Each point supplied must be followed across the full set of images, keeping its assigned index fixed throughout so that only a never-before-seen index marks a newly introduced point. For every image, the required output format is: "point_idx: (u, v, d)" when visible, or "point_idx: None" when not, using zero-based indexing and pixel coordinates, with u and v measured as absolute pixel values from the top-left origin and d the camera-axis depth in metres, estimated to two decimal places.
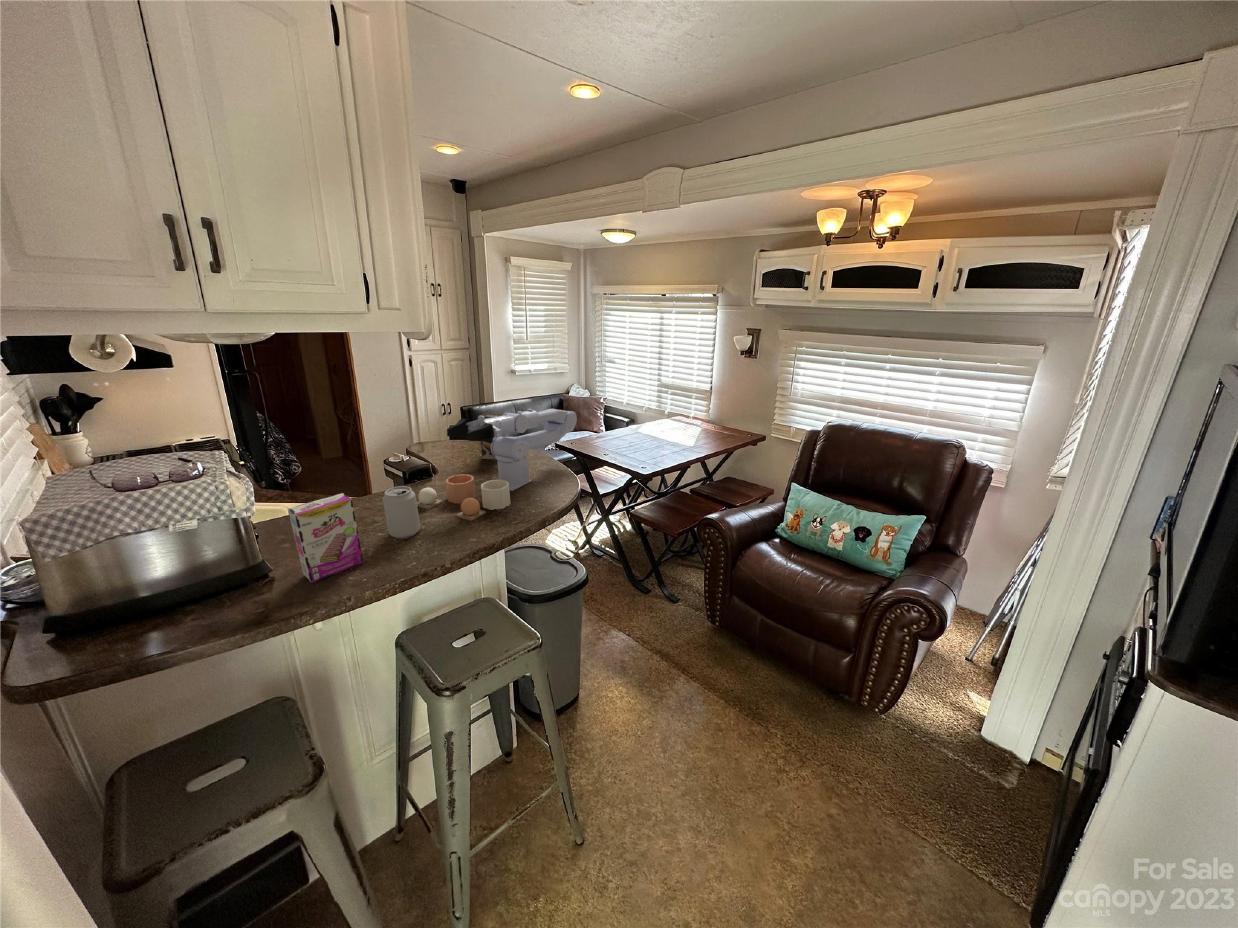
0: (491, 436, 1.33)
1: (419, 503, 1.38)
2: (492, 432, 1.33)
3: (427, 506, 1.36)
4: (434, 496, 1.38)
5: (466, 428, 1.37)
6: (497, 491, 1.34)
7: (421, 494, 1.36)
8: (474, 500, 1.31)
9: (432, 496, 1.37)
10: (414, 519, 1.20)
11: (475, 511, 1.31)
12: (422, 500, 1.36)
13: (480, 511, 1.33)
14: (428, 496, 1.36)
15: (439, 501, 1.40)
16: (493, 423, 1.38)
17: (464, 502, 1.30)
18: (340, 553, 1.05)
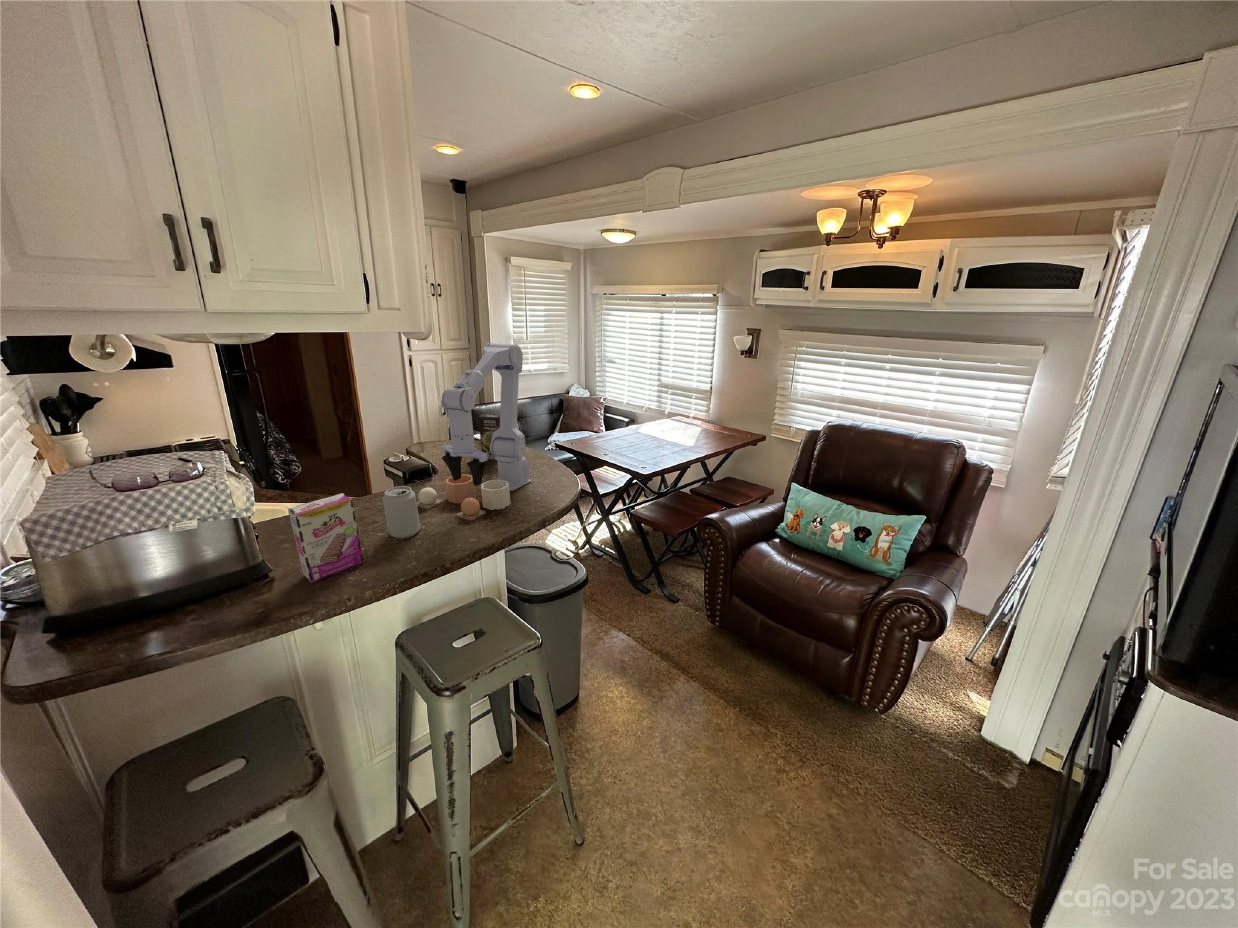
0: (483, 462, 1.25)
1: (419, 503, 1.38)
2: (480, 462, 1.24)
3: (427, 506, 1.36)
4: (434, 496, 1.38)
5: (454, 456, 1.29)
6: (497, 491, 1.34)
7: (421, 494, 1.36)
8: (474, 500, 1.31)
9: (432, 496, 1.37)
10: (414, 519, 1.20)
11: (475, 511, 1.31)
12: (422, 500, 1.36)
13: (480, 511, 1.33)
14: (428, 496, 1.36)
15: (439, 501, 1.40)
16: (464, 445, 1.23)
17: (464, 502, 1.30)
18: (340, 553, 1.05)
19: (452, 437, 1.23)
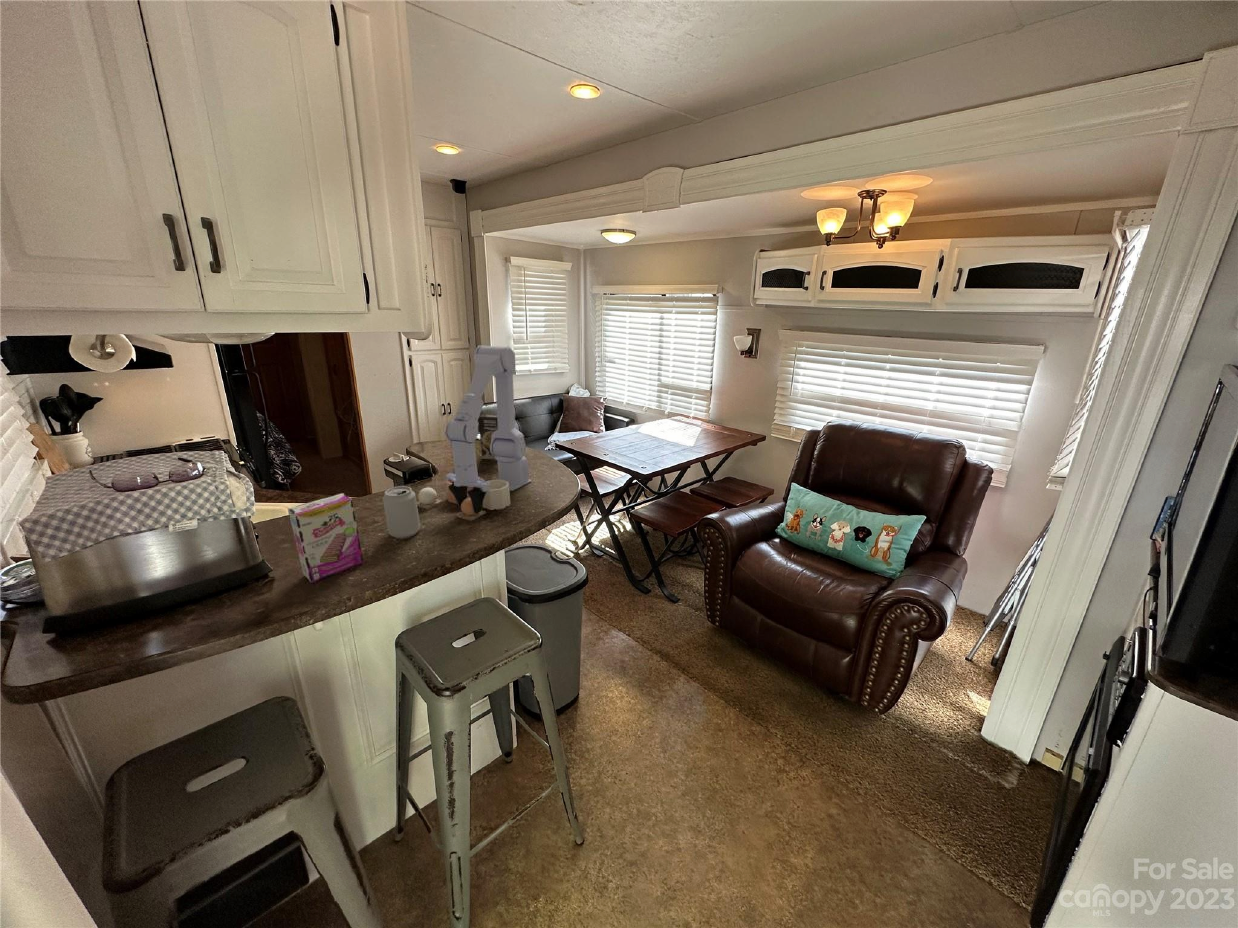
0: (483, 490, 1.28)
1: (419, 503, 1.38)
2: (480, 491, 1.27)
3: (427, 506, 1.36)
4: (434, 496, 1.38)
5: (460, 486, 1.31)
6: (497, 491, 1.34)
7: (421, 494, 1.36)
8: None
9: (432, 496, 1.37)
10: (414, 519, 1.20)
11: None
12: (422, 500, 1.36)
13: (480, 511, 1.33)
14: (428, 496, 1.36)
15: (439, 501, 1.40)
16: (467, 475, 1.26)
17: (464, 502, 1.30)
18: (340, 553, 1.05)
19: (456, 467, 1.26)
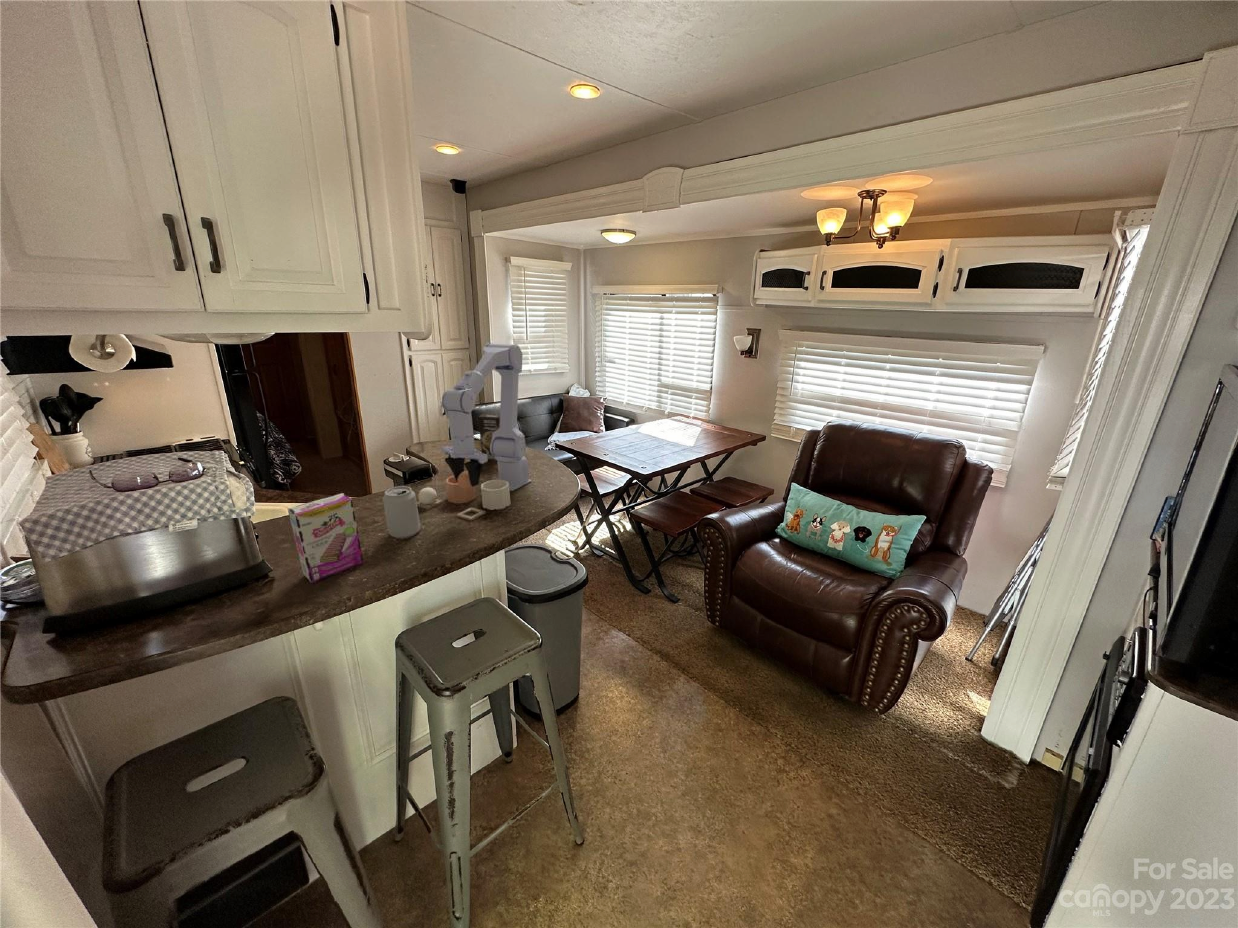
0: (480, 462, 1.26)
1: (419, 503, 1.38)
2: (477, 463, 1.24)
3: (427, 506, 1.36)
4: (434, 496, 1.38)
5: (457, 458, 1.28)
6: (497, 491, 1.34)
7: (421, 494, 1.36)
8: None
9: (432, 496, 1.37)
10: (414, 519, 1.20)
11: None
12: (422, 500, 1.36)
13: (480, 511, 1.33)
14: (428, 496, 1.36)
15: (439, 501, 1.40)
16: (464, 446, 1.23)
17: (461, 475, 1.27)
18: (340, 553, 1.05)
19: (452, 438, 1.23)
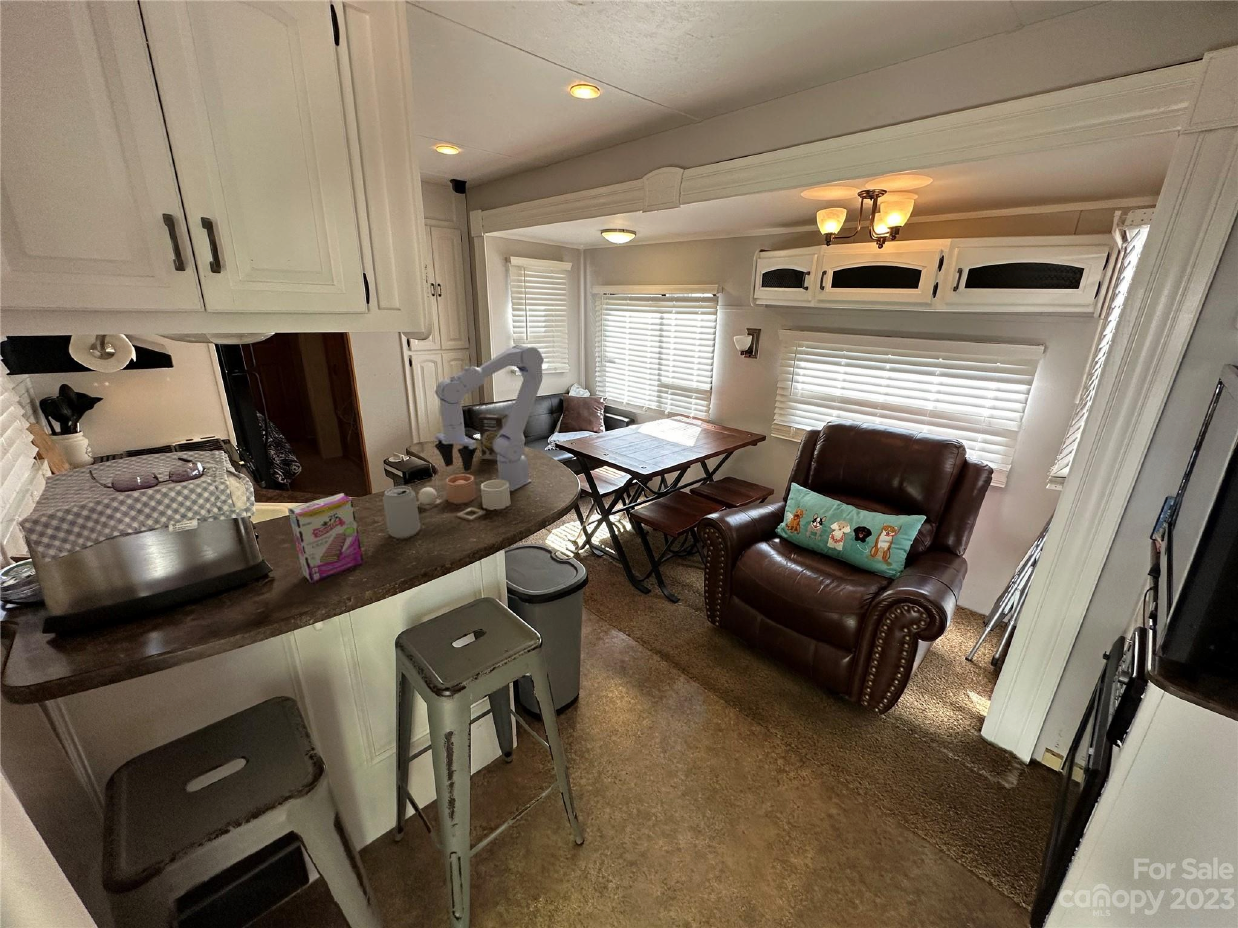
0: (472, 449, 1.36)
1: (419, 503, 1.38)
2: (470, 449, 1.35)
3: (427, 506, 1.36)
4: (434, 496, 1.38)
5: (446, 444, 1.40)
6: (497, 491, 1.34)
7: (421, 494, 1.36)
8: (464, 482, 1.42)
9: (432, 496, 1.37)
10: (414, 519, 1.20)
11: None
12: (422, 500, 1.36)
13: (480, 511, 1.33)
14: (428, 496, 1.36)
15: (439, 501, 1.40)
16: (454, 433, 1.34)
17: None
18: (340, 553, 1.05)
19: (444, 426, 1.34)
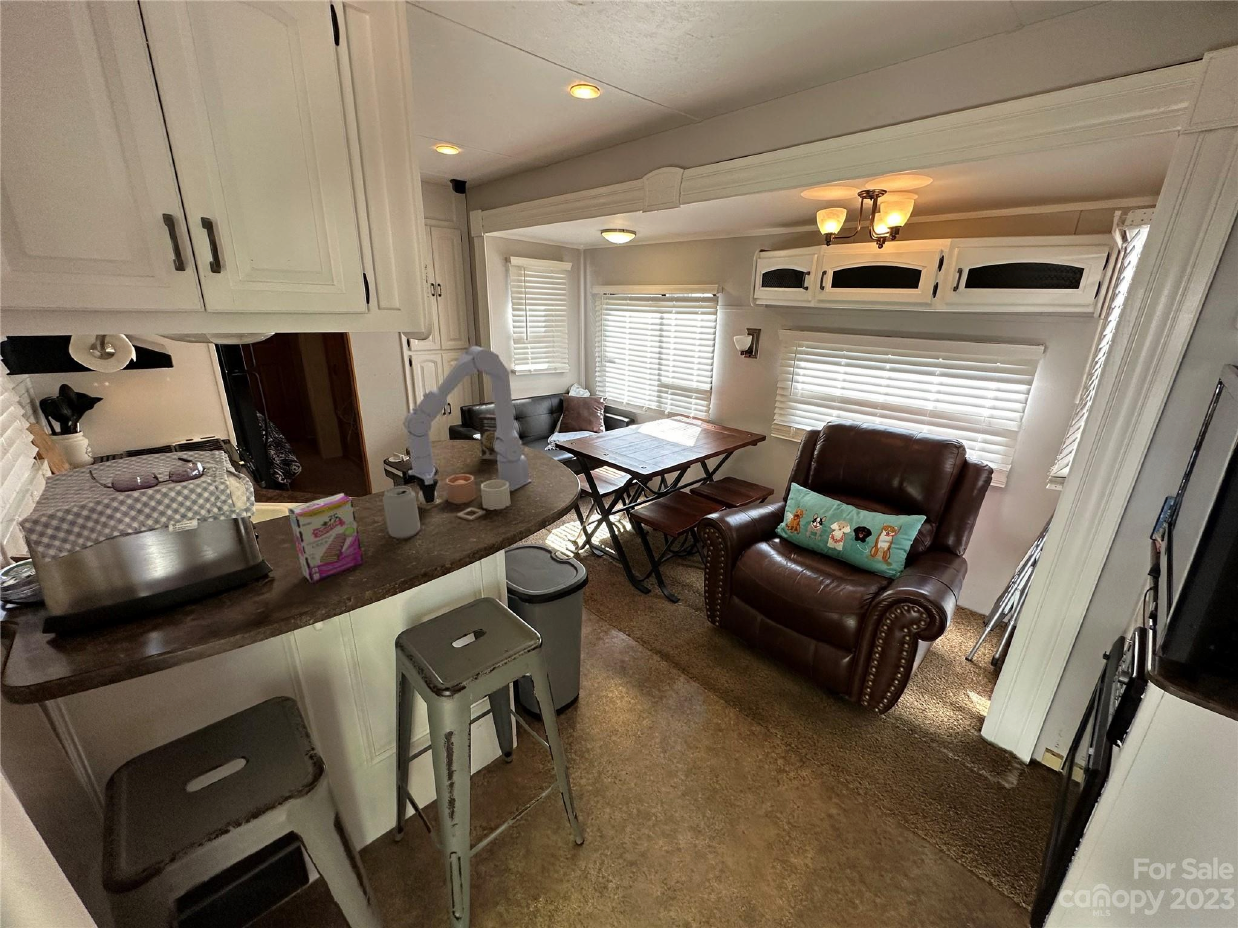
0: None
1: (419, 503, 1.38)
2: None
3: (427, 506, 1.36)
4: None
5: None
6: (497, 491, 1.34)
7: (421, 494, 1.36)
8: (464, 482, 1.42)
9: None
10: (414, 519, 1.20)
11: None
12: (422, 500, 1.36)
13: (480, 511, 1.33)
14: None
15: (439, 501, 1.40)
16: (417, 465, 1.32)
17: None
18: (340, 553, 1.05)
19: (411, 457, 1.33)
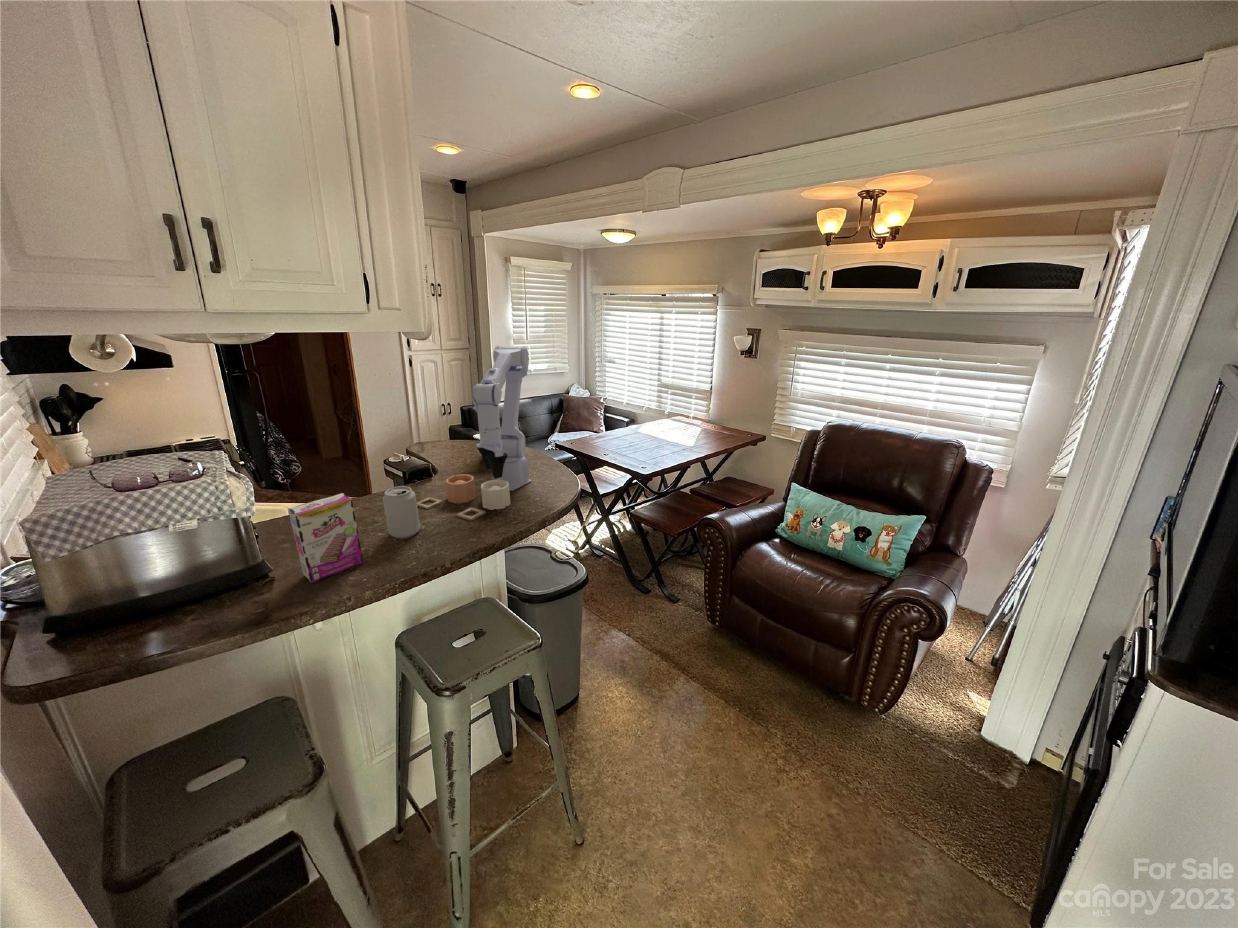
0: (500, 457, 1.30)
1: (419, 503, 1.38)
2: (496, 457, 1.29)
3: (427, 506, 1.36)
4: None
5: None
6: (497, 491, 1.34)
7: None
8: (463, 482, 1.42)
9: None
10: (414, 519, 1.20)
11: None
12: None
13: (480, 511, 1.33)
14: None
15: (439, 501, 1.40)
16: (486, 438, 1.30)
17: None
18: (340, 553, 1.05)
19: (479, 429, 1.31)
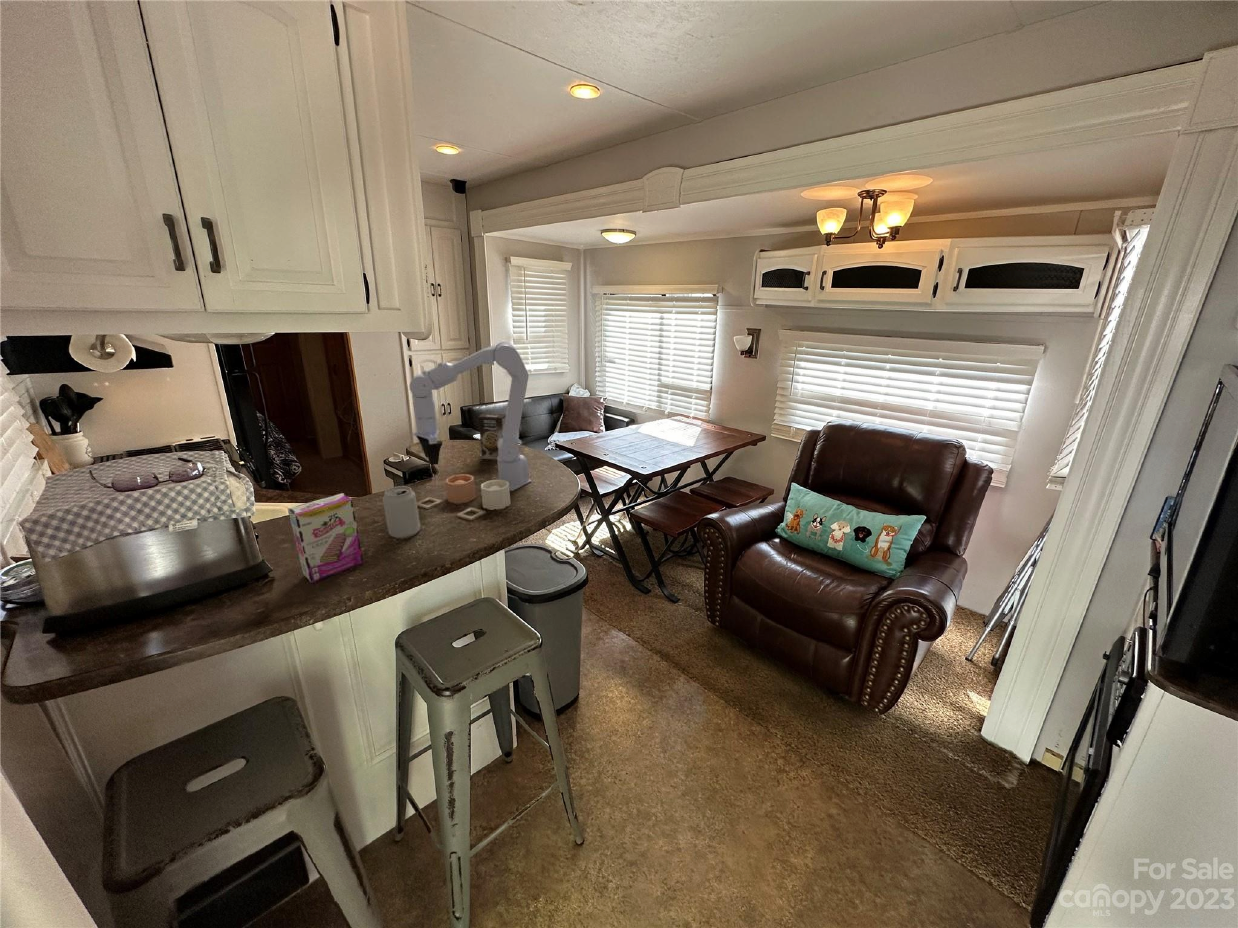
0: (435, 444, 1.37)
1: (419, 503, 1.38)
2: (431, 444, 1.36)
3: (427, 506, 1.36)
4: None
5: None
6: (497, 491, 1.34)
7: None
8: (462, 482, 1.42)
9: None
10: (414, 519, 1.20)
11: None
12: None
13: (480, 511, 1.33)
14: None
15: (439, 501, 1.40)
16: (421, 426, 1.37)
17: None
18: (340, 553, 1.05)
19: (415, 418, 1.38)
